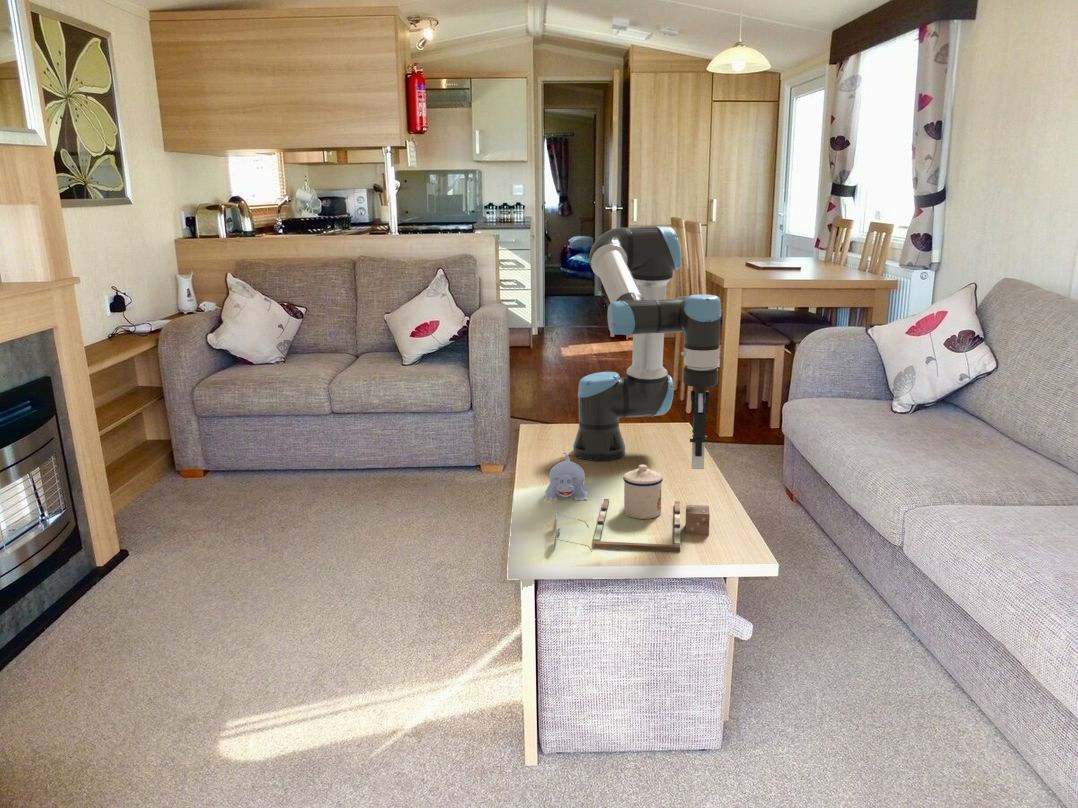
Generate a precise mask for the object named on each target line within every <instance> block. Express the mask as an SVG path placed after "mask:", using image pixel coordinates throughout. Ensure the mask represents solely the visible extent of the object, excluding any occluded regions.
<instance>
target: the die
mask: <svg viewBox="0 0 1078 808" xmlns="http://www.w3.org/2000/svg"><path fill="white" fill-rule="evenodd" d="M710 515H711V514H710V505H703V504H702V505H700V504H699V505H698V504H686V505H685V535H693V536H694V535H695V536H697V535H698V536H709V535H710Z"/></svg>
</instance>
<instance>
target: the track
mask: <svg viewBox="0 0 1078 808" xmlns="http://www.w3.org/2000/svg"><path fill="white" fill-rule="evenodd" d="M609 504H610V498H603V502H602V506H601V507H600V512H599V513H600V514H599V517H598V520H597V526H596V529H595V534H594V536H593V537H594V538H593V543H592V547H593V549H609V550H610V549H612V550H613V549H615V550H630V551H631V550H637V551H638V550H639V551H652V552H653V551H655V552H656V551H657V552H659V551H660V552H674V553H675V552H677V553H680V552H681V501H680V500H679V501H674V532H673V533H674V536H673V537H674V538H673V539H674V540H673V541H674V543H673V544H667V543H665V544H664V543H649V542H647V543H645V542H643V543H641V542H624V541H623V542H622V541H619V542H618V541H602V540H601V539H602V536H603V532H604V526H605V522H606V517H607V514H608V508H609Z"/></svg>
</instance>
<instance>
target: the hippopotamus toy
mask: <svg viewBox="0 0 1078 808" xmlns="http://www.w3.org/2000/svg"><path fill="white" fill-rule="evenodd" d="M562 454H564V455H565V457H564V461H560V462H558V463H556V464H555V465H553V467H551V470H550V472H549V475H548V480H549V484H548V486H547V488H546V490H545V496H544V500H545V501H551V502H553V501H558V499H559V497H560V496H561V497H563V498H568V497H570V496H573V498H574V500H575V501H580V502H581V501H588V499H589V496H588V492H589V490H588V489H587V487H586V485H585V484H584V483H585V479H586V474H585V471H584V469H583V468H582V466H581V465H580V464H578V463H576V462H574V461H571V460H570V457H569V455H568V453H566V452H563V453H562Z"/></svg>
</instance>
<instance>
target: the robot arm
mask: <svg viewBox="0 0 1078 808" xmlns="http://www.w3.org/2000/svg"><path fill="white" fill-rule="evenodd" d="M681 251H682V250H681V245H680V240H679V238H678V234H677V233H676V231H675V229H674V228H672V227H670V226H658V225H652V226H631V227H623V226H622V227H616V228H612V229H609V230H607V231H605V232H604V233H602V234H601V235H600V236H598V237H597V239H596V240H595V242H593V245H592V247H591V249H590V252H589V265H590V268H591V269H592V271H593V274H594V275H595V276H597V277H598V278H599V279H600V281H601V284H602V285H603V289H604V290H605V293H606V296H607V298H608V300H609V302H610V303H609V304H608V307H607V317H606V318H607V325H608V330H609V332H610V333H611V334H613V335H624V336H630V335H632V356H631V357H632V359H631V360H632V361H631V362H632V364H631V365H630V366H629V367H628V368H626V374H625V375H626V376H622V377H621V376H620V374H619V373H618V372H615V371H601V372H594V373H591V374H587V375H586V376H583V377H582V378H581V379H580V380H579V382H578V392H577V398H578V428H577V432H576V436H575V439H574V442H573V445H572V447H573V449H572V451H573V455H574V456H575V457H577V458H579V459H582V460H585V461H586V460H587V461H599V462H601V461H611V460H616V459H619V458H622V457H623V456H625V454H626V444H625V442H624V438H623V435H622V432H621V428H620V419H621V418H639V417H641V418H643V417H650V418H653V417H655V416H664V415H665V414H667V412H669V410H670V409H671V406H672V403H673V399H674V391H675V390H674V379H673V378H672V376H671V375H669V374H668V369H666V368H665V367H664V366H663V365H664V362H663V360H664V344H665V343H664V342H665V334H669V333H670V334H671V333H672V334H673V333H684V334H683V335H684V338H683V339H684V340H683V341H684V342H683V343H684V344H683V346H684V348H683V351H681V352H680V354H681V356H683V364H684V365H685V366H684V367H683V372H682V374H683V375H682V376H683V377H682V382H683V383H684V385H686V386H688V387H694V389H693V390H691V391H690V401H691V413H692V414H693V415H692V419H693V420H692V431H691V432H692V438H689V443H691V445H692V446H691V470H704V469H705V448H706V447H705V446H706V444H705V443H706V440H708V435H706V425H707V424H706V422H707V421H706V420H707V419H706V418H707V414H708V411H709V402H710V391H709V390H707V388H708V387H709V388H710V387H711V388H712V387H715V386H717V384H718V383H719V368H718V366H719V365H720V341H721V340H720V337H721V335H720V334H721V319H722V307H721V302H722V301H721V298H720V297H719V296H717V295H714V294H713V295H712V294H706V293H705V294H700V293H699V294H691V295H689V296H678V297H677V298H673V299H672V298H670V299H669V298H668V299H667V284H668V283H669V282H671V280H672V279H673V276H674V272H675V271H677V270H679V269H680V268H681V264H682V263H681V261H682V252H681Z"/></svg>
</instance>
